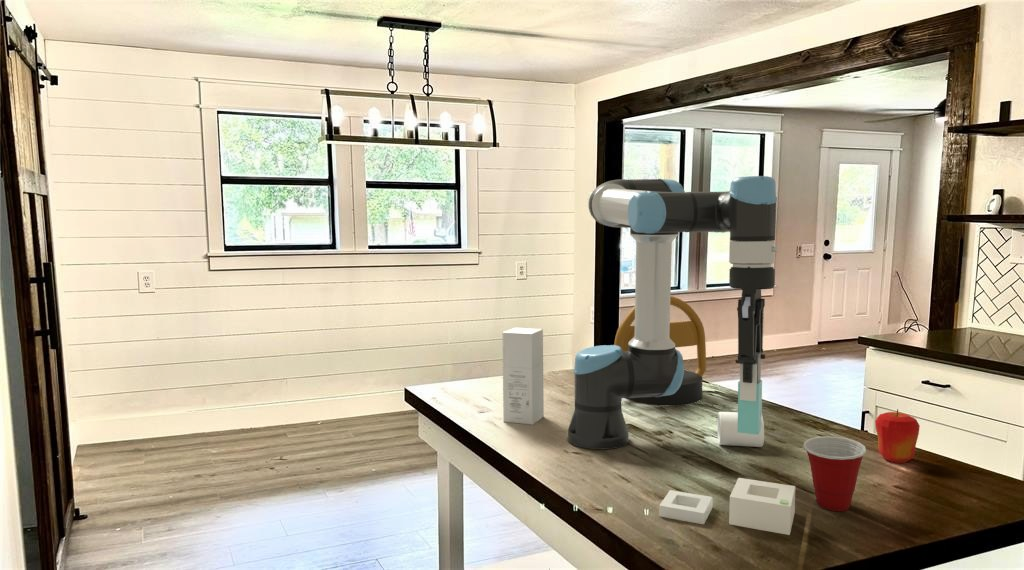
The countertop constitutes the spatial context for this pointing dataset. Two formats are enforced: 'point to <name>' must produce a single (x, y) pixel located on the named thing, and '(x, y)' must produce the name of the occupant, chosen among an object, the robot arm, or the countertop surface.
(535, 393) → the tall white carton
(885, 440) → the apple
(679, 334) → the chair
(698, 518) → the holster
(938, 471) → the countertop surface
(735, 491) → the port
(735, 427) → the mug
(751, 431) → the plug
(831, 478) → the plastic cup
